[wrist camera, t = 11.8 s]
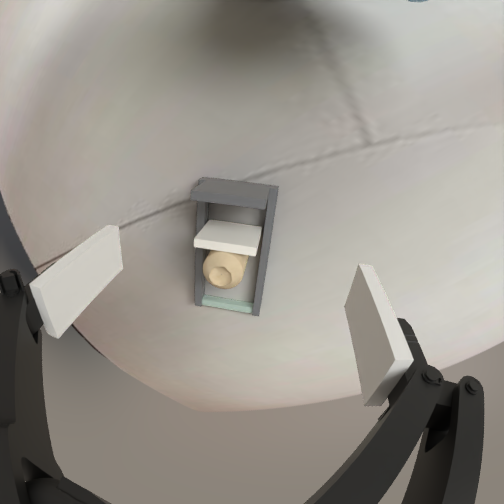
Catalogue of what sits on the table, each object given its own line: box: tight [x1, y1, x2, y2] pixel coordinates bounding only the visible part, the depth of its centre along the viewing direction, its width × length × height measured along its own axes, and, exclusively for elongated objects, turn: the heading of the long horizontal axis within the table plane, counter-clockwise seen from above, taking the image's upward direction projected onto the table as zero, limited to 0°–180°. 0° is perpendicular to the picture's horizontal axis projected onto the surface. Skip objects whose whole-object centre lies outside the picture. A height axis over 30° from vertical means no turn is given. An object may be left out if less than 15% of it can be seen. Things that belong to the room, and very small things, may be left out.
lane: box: [191, 177, 279, 316], centre depth 41 cm, size 22×11×9 cm, turn 174°
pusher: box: [194, 219, 262, 256], centre depth 39 cm, size 1×8×8 cm, turn 84°
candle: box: [203, 250, 249, 289], centre depth 40 cm, size 6×6×10 cm
